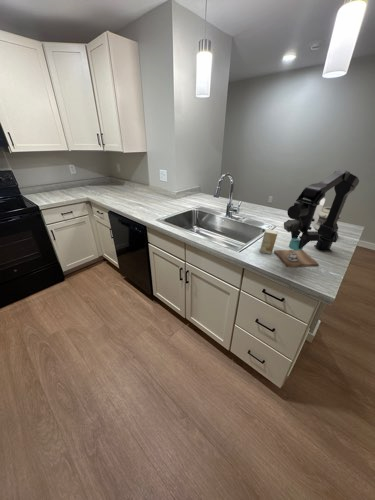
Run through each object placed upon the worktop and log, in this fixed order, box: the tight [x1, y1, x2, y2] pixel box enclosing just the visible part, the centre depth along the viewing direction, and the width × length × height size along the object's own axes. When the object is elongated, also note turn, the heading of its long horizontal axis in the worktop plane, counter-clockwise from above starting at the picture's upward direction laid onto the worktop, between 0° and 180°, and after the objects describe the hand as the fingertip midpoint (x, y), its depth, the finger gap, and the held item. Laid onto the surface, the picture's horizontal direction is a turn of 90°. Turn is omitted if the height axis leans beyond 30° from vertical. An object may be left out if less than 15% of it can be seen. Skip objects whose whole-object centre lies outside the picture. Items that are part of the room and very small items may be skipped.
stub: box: [286, 252, 298, 262], centre depth 100 cm, size 5×5×3 cm
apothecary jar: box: [313, 206, 342, 233], centre depth 124 cm, size 12×12×18 cm
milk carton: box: [311, 197, 326, 226], centre depth 144 cm, size 7×7×19 cm
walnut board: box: [273, 249, 320, 268], centre depth 103 cm, size 16×14×1 cm
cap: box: [288, 237, 304, 251], centre depth 96 cm, size 6×6×4 cm
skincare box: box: [259, 228, 279, 255], centre depth 106 cm, size 6×4×12 cm
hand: (296, 245), depth 97 cm, fingers closed on cap, 6 cm apart
